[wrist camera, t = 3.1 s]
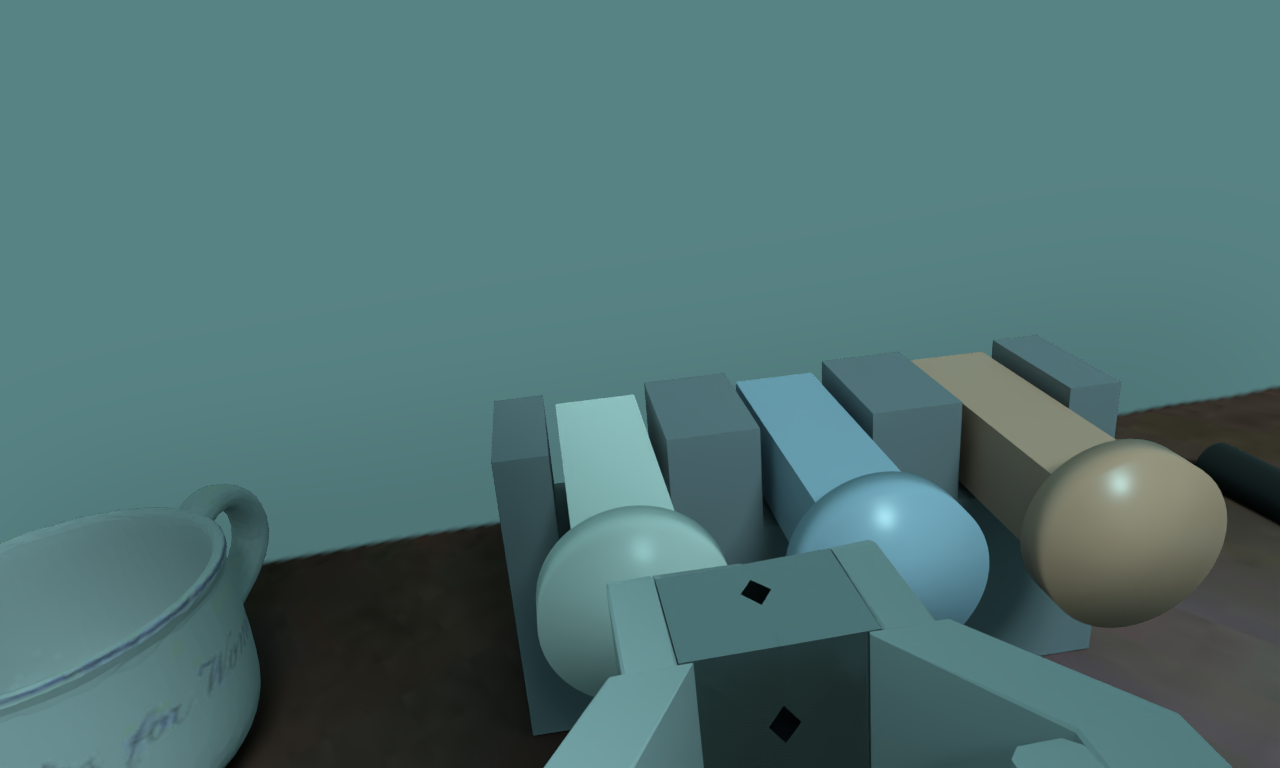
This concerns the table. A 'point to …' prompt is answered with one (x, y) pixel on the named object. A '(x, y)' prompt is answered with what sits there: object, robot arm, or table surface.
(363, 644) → the table surface
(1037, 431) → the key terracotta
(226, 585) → the teacup
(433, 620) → the table surface
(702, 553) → the key white
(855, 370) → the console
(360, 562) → the table surface
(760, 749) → the robot arm
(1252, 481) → the magnifying glass
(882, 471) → the key blue
